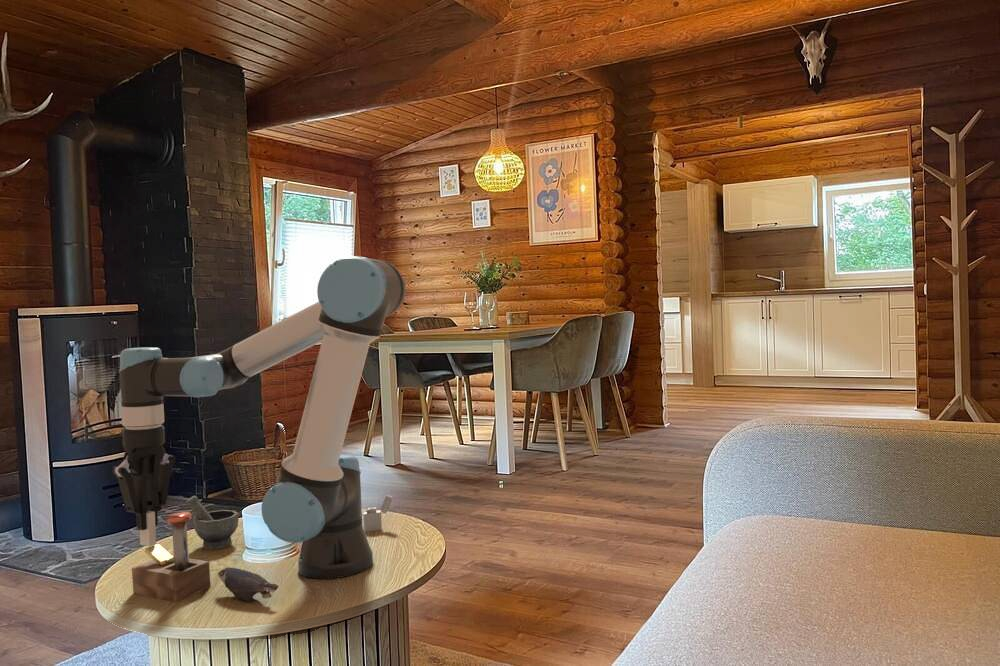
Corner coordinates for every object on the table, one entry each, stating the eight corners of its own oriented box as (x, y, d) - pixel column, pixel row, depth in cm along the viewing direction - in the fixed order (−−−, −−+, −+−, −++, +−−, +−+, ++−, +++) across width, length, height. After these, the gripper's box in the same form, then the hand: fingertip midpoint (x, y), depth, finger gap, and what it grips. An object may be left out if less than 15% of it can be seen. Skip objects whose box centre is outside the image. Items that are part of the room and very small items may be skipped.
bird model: (266, 610, 136) (264, 583, 136) (208, 594, 146) (207, 568, 145) (285, 602, 140) (284, 575, 140) (228, 586, 149) (227, 561, 149)
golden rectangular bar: (174, 562, 150) (176, 558, 150) (161, 567, 148) (162, 563, 147) (157, 547, 152) (159, 543, 152) (144, 552, 150) (145, 548, 149)
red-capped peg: (200, 589, 148) (196, 513, 148) (182, 597, 144) (177, 519, 144) (184, 586, 150) (180, 511, 150) (166, 594, 146) (161, 517, 146)
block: (210, 586, 150) (209, 561, 150) (176, 601, 143) (175, 575, 142) (167, 579, 155) (166, 554, 155) (133, 593, 148) (131, 567, 148)
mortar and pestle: (240, 536, 183) (237, 487, 182) (238, 548, 174) (235, 496, 173) (190, 542, 180) (187, 492, 179) (185, 554, 171) (182, 501, 170)
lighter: (364, 532, 182) (363, 498, 182) (363, 530, 184) (362, 497, 183) (394, 528, 184) (392, 495, 184) (393, 526, 186) (391, 493, 185)
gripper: (158, 419, 158) (162, 532, 159) (100, 430, 146) (105, 551, 147) (184, 422, 154) (188, 537, 155) (127, 432, 143) (132, 557, 144)
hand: (148, 544), depth 151 cm, fingers closed
